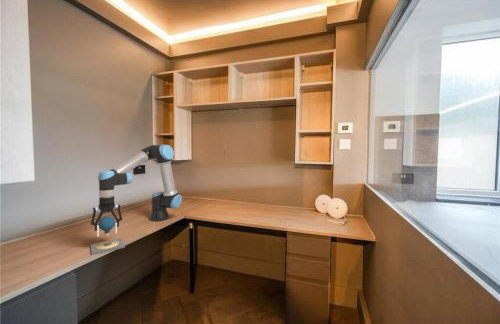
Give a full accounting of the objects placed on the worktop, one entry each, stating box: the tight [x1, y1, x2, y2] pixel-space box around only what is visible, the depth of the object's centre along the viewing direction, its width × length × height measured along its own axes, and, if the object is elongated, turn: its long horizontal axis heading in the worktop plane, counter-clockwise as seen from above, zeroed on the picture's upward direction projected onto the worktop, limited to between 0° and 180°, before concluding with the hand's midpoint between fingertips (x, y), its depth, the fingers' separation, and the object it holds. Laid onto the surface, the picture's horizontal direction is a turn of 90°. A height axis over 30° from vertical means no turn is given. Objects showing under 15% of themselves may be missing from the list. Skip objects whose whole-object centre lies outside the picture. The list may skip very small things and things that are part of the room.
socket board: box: [90, 237, 126, 256], centre depth 129 cm, size 16×15×2 cm
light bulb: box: [98, 215, 116, 237], centre depth 128 cm, size 8×8×12 cm
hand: (107, 234), depth 128 cm, fingers closed on light bulb, 8 cm apart
